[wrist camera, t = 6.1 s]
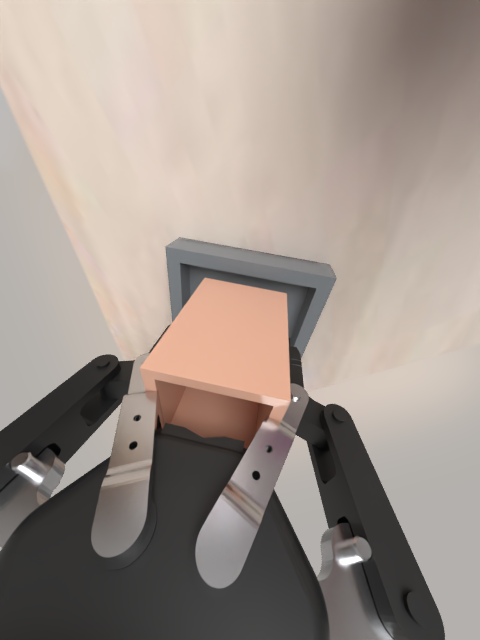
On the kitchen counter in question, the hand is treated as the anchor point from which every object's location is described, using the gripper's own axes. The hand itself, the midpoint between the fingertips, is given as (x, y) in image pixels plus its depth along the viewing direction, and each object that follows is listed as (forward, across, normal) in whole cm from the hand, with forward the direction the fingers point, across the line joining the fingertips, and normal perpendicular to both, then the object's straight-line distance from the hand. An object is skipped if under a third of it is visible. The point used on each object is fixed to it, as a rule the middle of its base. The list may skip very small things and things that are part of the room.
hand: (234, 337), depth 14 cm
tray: (+6, 0, +3) cm, 7 cm away
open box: (+2, 0, 0) cm, 2 cm away
